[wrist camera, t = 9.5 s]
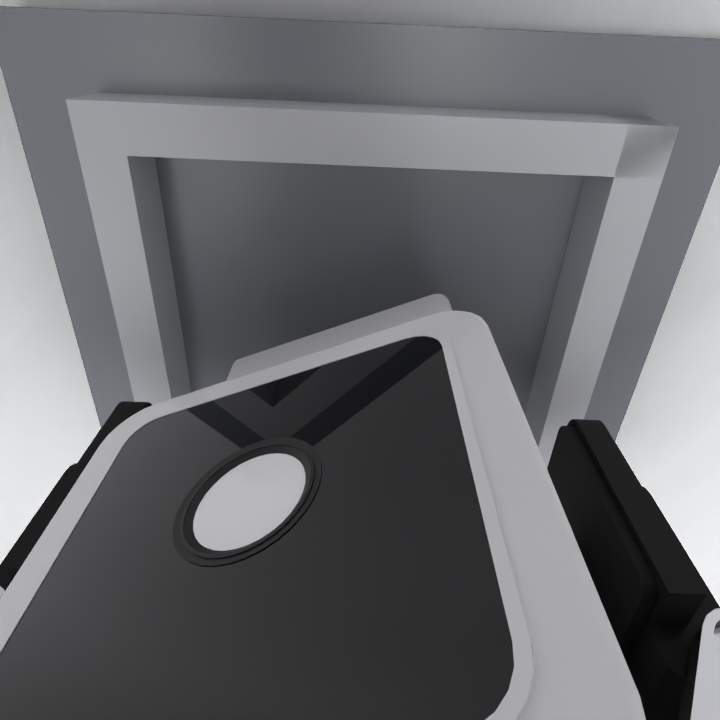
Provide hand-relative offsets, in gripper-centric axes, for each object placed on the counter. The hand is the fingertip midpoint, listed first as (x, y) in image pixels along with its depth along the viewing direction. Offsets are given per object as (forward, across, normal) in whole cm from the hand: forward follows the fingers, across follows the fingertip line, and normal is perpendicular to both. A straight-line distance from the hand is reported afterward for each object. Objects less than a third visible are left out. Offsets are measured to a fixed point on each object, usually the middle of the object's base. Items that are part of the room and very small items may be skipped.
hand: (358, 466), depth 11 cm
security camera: (+3, 0, 0) cm, 3 cm away
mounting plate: (+6, 0, 0) cm, 6 cm away
